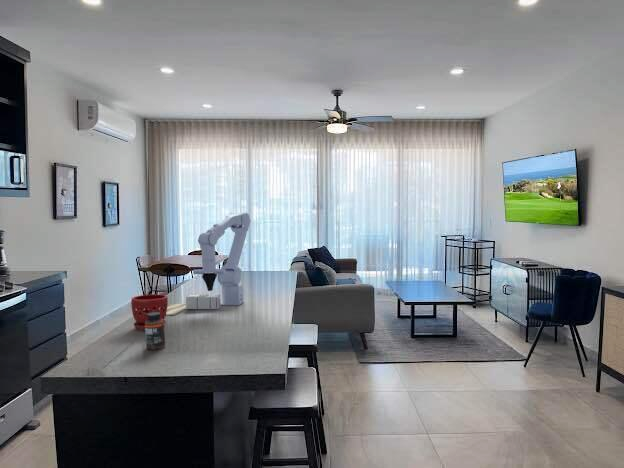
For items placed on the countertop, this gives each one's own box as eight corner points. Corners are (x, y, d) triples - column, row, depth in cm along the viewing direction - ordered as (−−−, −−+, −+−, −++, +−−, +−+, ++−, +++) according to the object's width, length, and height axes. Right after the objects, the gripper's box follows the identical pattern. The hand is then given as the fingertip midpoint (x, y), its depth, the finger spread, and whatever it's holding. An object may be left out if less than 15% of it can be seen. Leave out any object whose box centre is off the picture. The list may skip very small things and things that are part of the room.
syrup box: (185, 309, 202) (218, 309, 203) (185, 296, 202) (218, 296, 203) (188, 306, 208) (220, 306, 209) (188, 293, 207) (220, 294, 208)
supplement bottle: (159, 343, 153) (157, 310, 153) (169, 346, 149) (167, 312, 149) (142, 348, 149) (140, 314, 148) (152, 351, 145) (150, 316, 144)
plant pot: (157, 332, 168) (155, 300, 167) (125, 331, 171) (123, 299, 170) (175, 323, 181) (173, 293, 180) (145, 322, 183) (143, 293, 183)
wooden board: (195, 305, 213) (194, 304, 213) (174, 315, 193) (173, 314, 193) (171, 305, 215) (171, 303, 215) (148, 315, 196) (148, 313, 196)
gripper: (189, 261, 197) (190, 292, 198) (220, 260, 194) (222, 292, 195) (196, 259, 204) (198, 289, 205) (227, 258, 201) (228, 289, 202)
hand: (210, 290), depth 200 cm, fingers closed
